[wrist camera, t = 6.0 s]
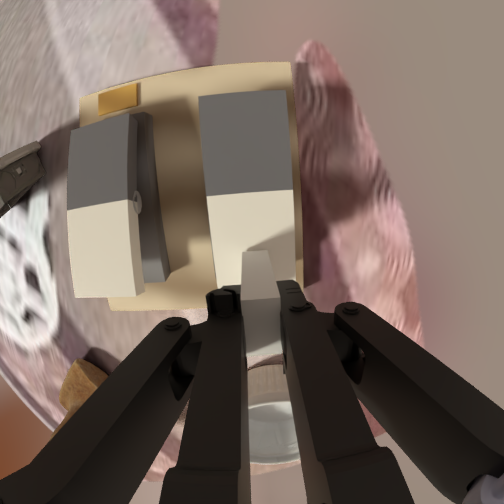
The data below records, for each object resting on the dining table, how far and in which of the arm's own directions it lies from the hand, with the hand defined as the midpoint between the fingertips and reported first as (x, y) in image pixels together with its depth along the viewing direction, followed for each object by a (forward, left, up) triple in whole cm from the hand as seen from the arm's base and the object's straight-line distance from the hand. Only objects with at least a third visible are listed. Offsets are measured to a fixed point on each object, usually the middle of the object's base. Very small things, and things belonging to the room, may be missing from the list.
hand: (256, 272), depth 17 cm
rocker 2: (-5, 0, -2) cm, 5 cm away
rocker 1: (-5, -10, -2) cm, 11 cm away
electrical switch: (-9, -24, -8) cm, 27 cm away
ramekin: (+19, +1, -8) cm, 21 cm away
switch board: (-5, -5, -7) cm, 10 cm away
